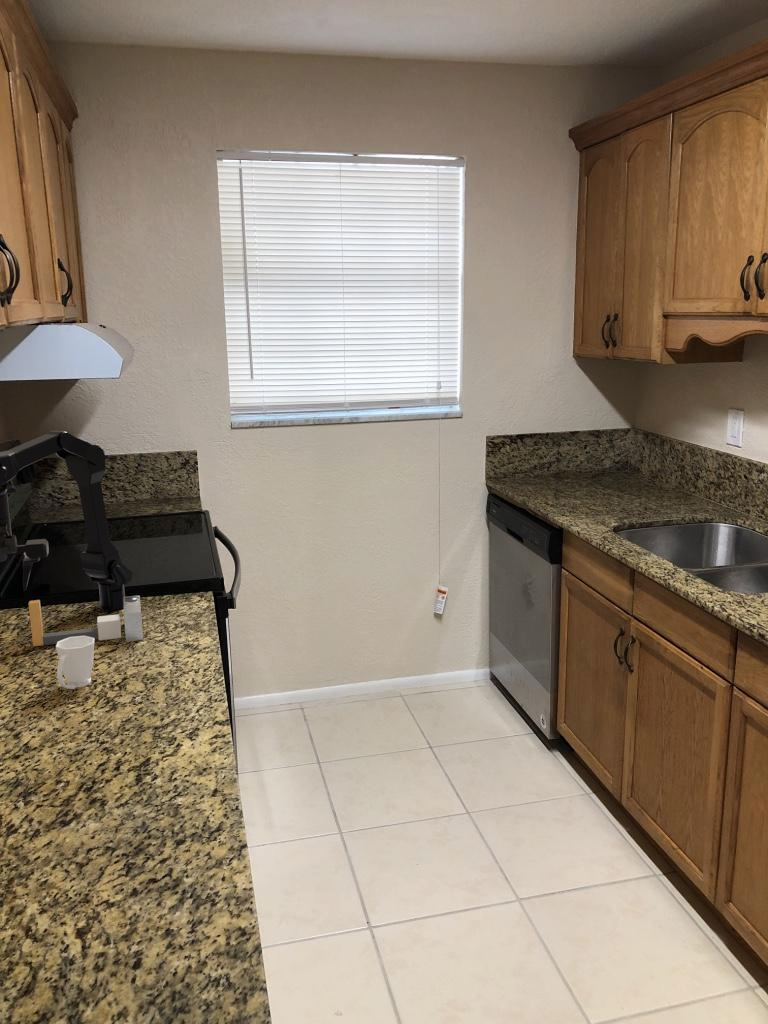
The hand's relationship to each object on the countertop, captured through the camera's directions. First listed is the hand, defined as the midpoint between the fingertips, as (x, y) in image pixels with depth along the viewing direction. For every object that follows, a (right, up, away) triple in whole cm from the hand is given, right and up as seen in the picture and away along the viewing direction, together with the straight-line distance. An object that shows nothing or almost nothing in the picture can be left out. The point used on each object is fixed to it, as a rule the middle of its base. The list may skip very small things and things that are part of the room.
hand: (2, 592), depth 169 cm
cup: (+21, -16, -17) cm, 31 cm away
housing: (+23, -10, +12) cm, 28 cm away
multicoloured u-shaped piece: (+13, -11, +6) cm, 18 cm away
